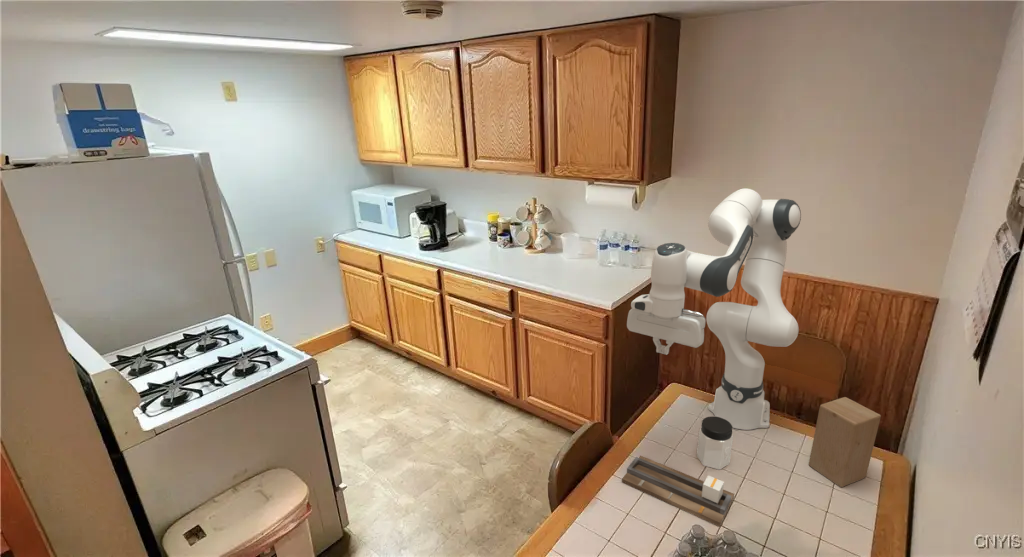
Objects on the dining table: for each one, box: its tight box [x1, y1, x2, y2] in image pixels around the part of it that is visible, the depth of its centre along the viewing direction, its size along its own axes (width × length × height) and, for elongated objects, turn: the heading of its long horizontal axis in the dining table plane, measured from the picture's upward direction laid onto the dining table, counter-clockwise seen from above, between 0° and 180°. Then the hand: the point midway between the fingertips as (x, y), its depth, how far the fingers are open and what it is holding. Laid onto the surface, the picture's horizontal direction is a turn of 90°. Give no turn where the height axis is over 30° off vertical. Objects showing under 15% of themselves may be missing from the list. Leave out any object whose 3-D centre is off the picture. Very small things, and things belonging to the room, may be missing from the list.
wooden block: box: [808, 396, 882, 488], centre depth 135 cm, size 10×10×20 cm
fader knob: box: [702, 475, 725, 504], centre depth 127 cm, size 4×4×6 cm
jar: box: [696, 415, 734, 470], centre depth 143 cm, size 9×8×12 cm
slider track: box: [621, 455, 735, 528], centre depth 133 cm, size 12×26×3 cm, turn 52°
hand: (662, 352), depth 135 cm, fingers closed
